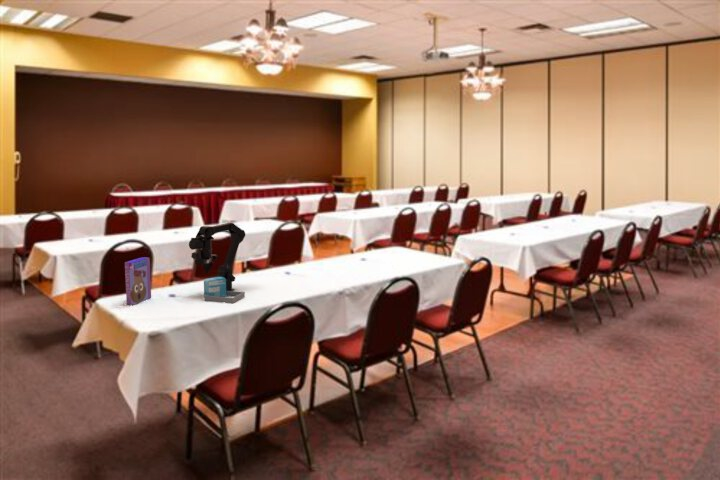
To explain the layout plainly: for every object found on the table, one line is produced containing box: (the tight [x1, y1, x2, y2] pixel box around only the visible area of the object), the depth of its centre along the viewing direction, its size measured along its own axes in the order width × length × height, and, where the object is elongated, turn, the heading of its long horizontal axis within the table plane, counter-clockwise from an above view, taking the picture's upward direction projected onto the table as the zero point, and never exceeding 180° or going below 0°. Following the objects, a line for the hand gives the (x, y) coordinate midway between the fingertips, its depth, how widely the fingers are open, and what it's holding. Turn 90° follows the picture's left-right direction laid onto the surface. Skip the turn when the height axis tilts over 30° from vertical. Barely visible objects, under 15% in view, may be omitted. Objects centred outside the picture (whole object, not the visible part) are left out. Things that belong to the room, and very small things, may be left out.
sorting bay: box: [204, 290, 246, 304], centre depth 351 cm, size 15×18×3 cm
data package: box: [203, 276, 227, 299], centre depth 352 cm, size 12×4×12 cm, turn 131°
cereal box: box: [124, 256, 152, 306], centre depth 343 cm, size 17×5×24 cm, turn 168°
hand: (207, 273), depth 359 cm, fingers closed
